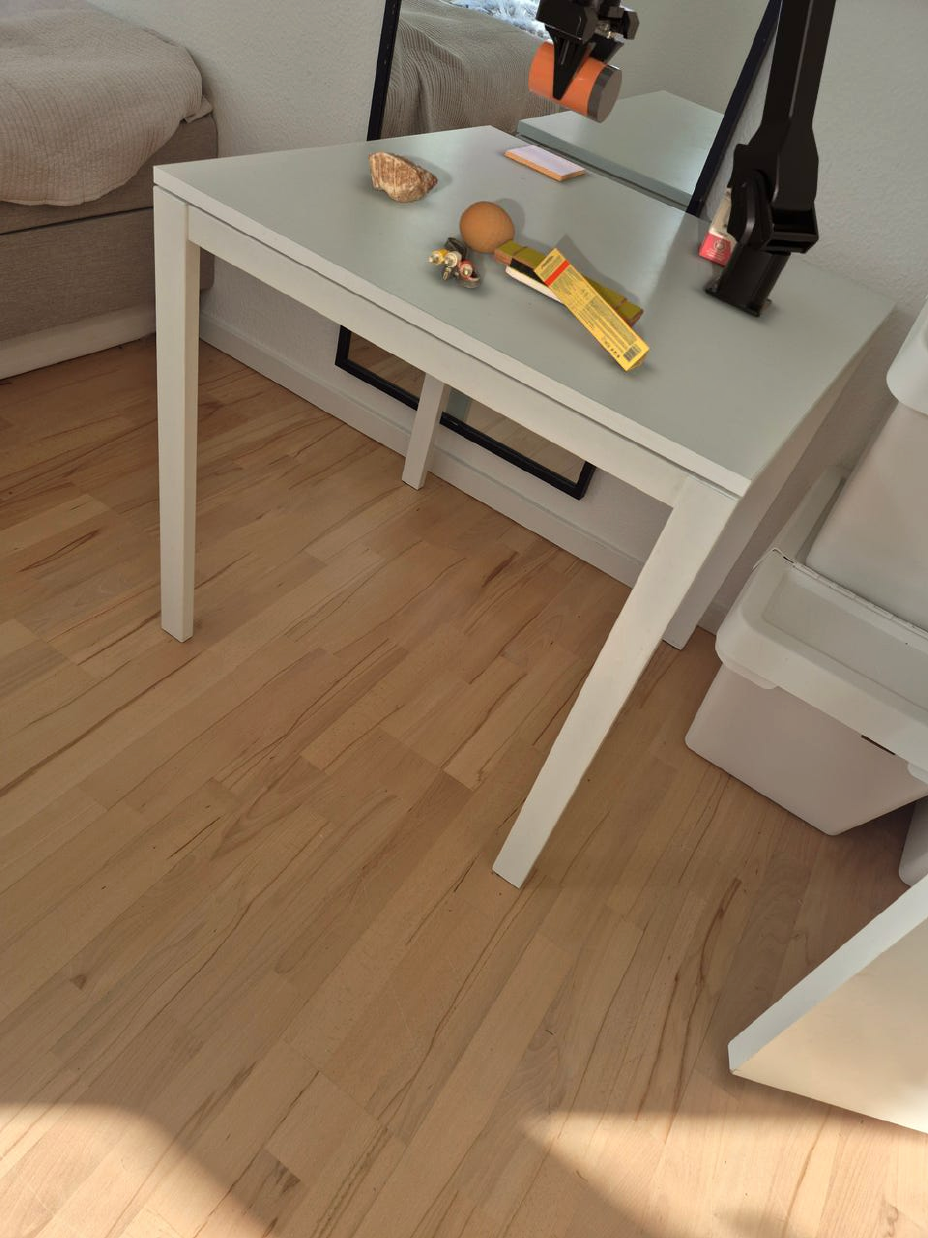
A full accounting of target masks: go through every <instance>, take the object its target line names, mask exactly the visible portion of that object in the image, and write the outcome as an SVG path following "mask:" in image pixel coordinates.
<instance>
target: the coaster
mask: <svg viewBox="0 0 928 1238" xmlns="http://www.w3.org/2000/svg"><path fill="white" fill-rule="evenodd" d="M504 156H505V157H508V158H509V159H511V160H514V161H516V162H518V163H520V164H523V165H524V166H527V167H530V168H531V169H533V170H535V171H537V172H540V173H542V174H544V175H546V176H547V177H550V178H552V179H555V180H556V181H559V182H561V181H564V180H569V179H571V178H574V177H577V176H581V175H585V173H586V171H587V170H586V168H584V167H582V166H581V165H578V164H576V163H573V162H571V161H569V160H567V159H565V158H563V157H560V156H558V155H556V154H554V153H552V152H549V151H547V150H545V149H543V148H541V147H539V146H536V145H535V144H532V145H526V146H522V147H521V146H520V147H517V148H512V149H507V150H505V153H504Z"/></svg>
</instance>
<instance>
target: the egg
mask: <svg viewBox="0 0 928 1238" xmlns="http://www.w3.org/2000/svg"><path fill="white" fill-rule="evenodd" d="M459 232H460V236H461V238H462V240H463V241H464V244H465V245H466V246H467V247H469V248H470V249H471V250H473V251H475V252H477V253H481V254H494V251H495V248H497V247H498V246H500V245H501V244H503V243H505V242H506V241H508V240H511V241H514V239H515V235H516V229H515V224H514V223H513V220H512V218H511V216H510V215H509V214H508V212H506V211H505V209H504V208H503V207H501V206H500V205H498V204H497V203H494V202H492V201H485V200H480V201H477V202H474V203H472V204H470V205H469V206H468V207H466V209H465V210H464V211H463V212H462V213H461V216H460V219H459Z"/></svg>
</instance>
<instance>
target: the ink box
mask: <svg viewBox="0 0 928 1238" xmlns="http://www.w3.org/2000/svg"><path fill="white" fill-rule="evenodd" d="M730 210H731V189H730V188H726V191H725V193H724V195H723V197H722V199H721V201H720V204H719V206H718V208H717V210H716V212H715V215H714V217H713V219H712V221H711V223H710V225H709V228H707V232H706V234H705V236H704V238H703V240H702V242H701V245H700V247H699V249H698V255H699V257H703V258H705V259H707V260H710V261H712V262H715V263H717V264H719V265H722V266H724V267H725V265H726V263H727V261H728V259H729V257H730V254H731V252H732V250H733V248H734V246H735V244H736V242H737V241H735V238H734V237H733V236H731V235H730V234H728V233H727V226H728V220H729V215H730ZM773 226H774V224H773Z"/></svg>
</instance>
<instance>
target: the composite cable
mask: <svg viewBox="0 0 928 1238" xmlns="http://www.w3.org/2000/svg"><path fill="white" fill-rule="evenodd" d="M469 251H470V250H469V248H468V246H467V244H466V243H463V242H462V241H460V240H459V239H457V238H456V237H453V236H452V237H451V236H449V237H447V239H446V242H445V243H444V248H441V249H436V250H433V252H431V254H430V256H429V257H428V262H429V263H430V264H433V265H435V266H436V265H437V266H438V265H441V264H444V267H443V268H442V272H441V275H442V277H443V278H442V279H443V280H451V279H453V277H454V276H455V278H456V281H457V283H458V284H459V285H460V286H462V287H464V288H467V289H476V288H478V287H479V286H480V284H481V274H480V272H479V271H478V270H477V269H475V267H474V266H473V265H472V263H471V262H470V261H469V260H468V256H469Z"/></svg>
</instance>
